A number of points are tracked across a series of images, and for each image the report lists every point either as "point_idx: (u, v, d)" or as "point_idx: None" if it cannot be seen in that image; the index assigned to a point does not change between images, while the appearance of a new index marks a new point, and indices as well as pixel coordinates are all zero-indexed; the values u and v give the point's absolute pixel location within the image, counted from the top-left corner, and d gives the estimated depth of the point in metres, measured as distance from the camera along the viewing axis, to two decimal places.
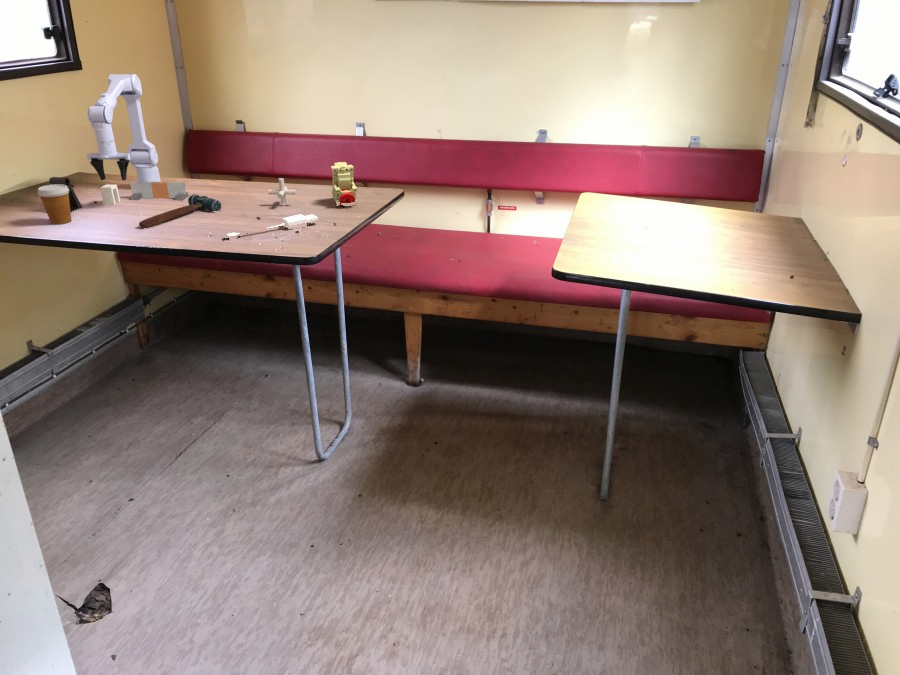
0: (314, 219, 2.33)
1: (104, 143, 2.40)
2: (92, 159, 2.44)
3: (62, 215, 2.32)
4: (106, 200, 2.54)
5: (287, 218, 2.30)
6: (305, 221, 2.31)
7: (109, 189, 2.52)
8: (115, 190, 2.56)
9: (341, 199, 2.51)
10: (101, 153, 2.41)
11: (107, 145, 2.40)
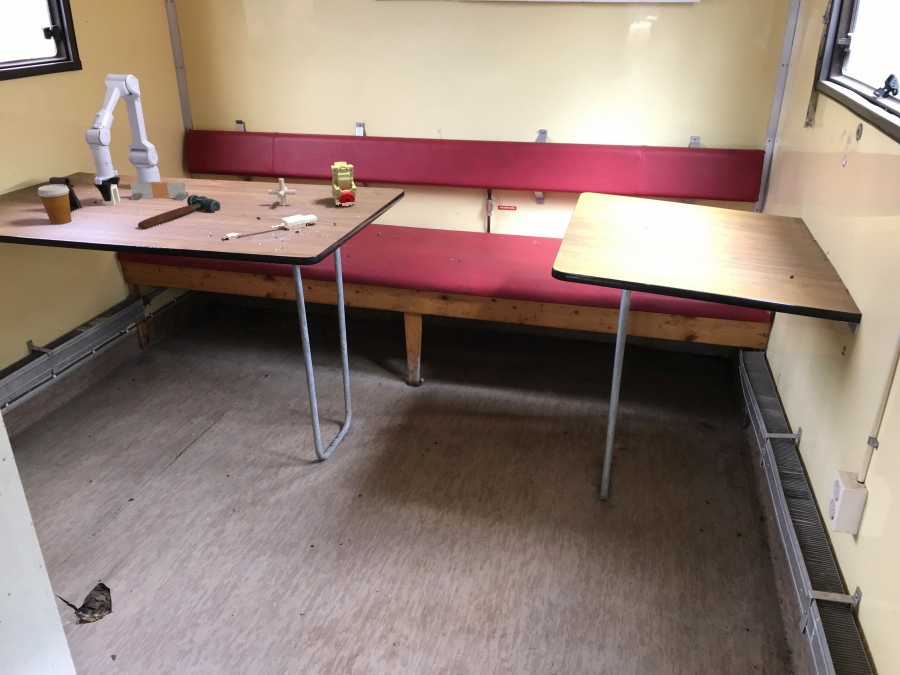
0: (314, 219, 2.33)
1: None
2: None
3: (62, 215, 2.32)
4: None
5: (287, 218, 2.30)
6: (305, 221, 2.31)
7: None
8: (115, 190, 2.56)
9: (341, 198, 2.51)
10: None
11: (95, 165, 2.49)
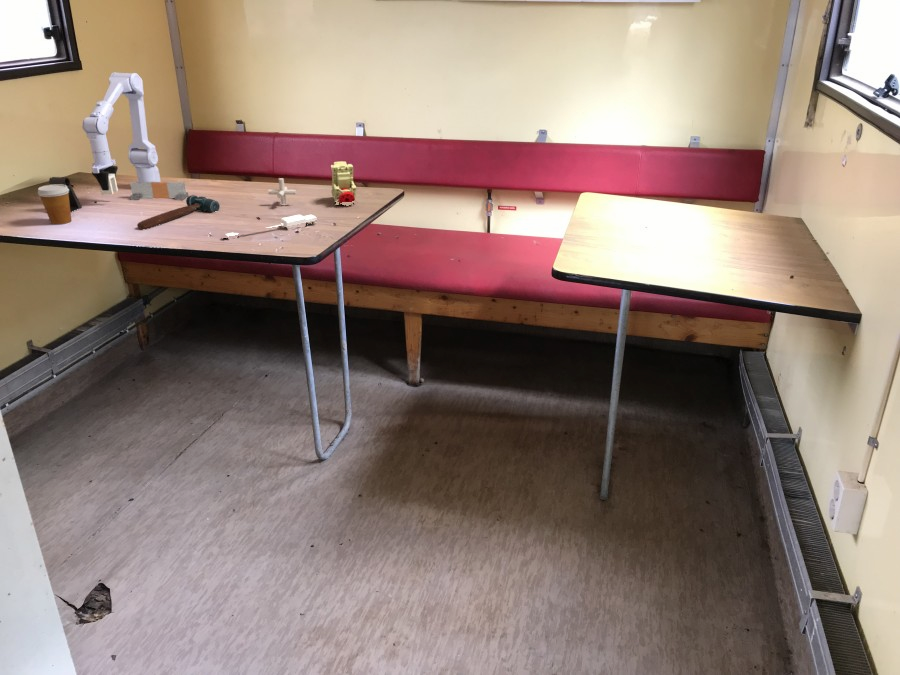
0: (313, 219, 2.33)
1: None
2: None
3: (62, 215, 2.32)
4: None
5: (286, 218, 2.30)
6: (304, 221, 2.31)
7: None
8: (113, 179, 2.54)
9: (341, 198, 2.52)
10: None
11: None
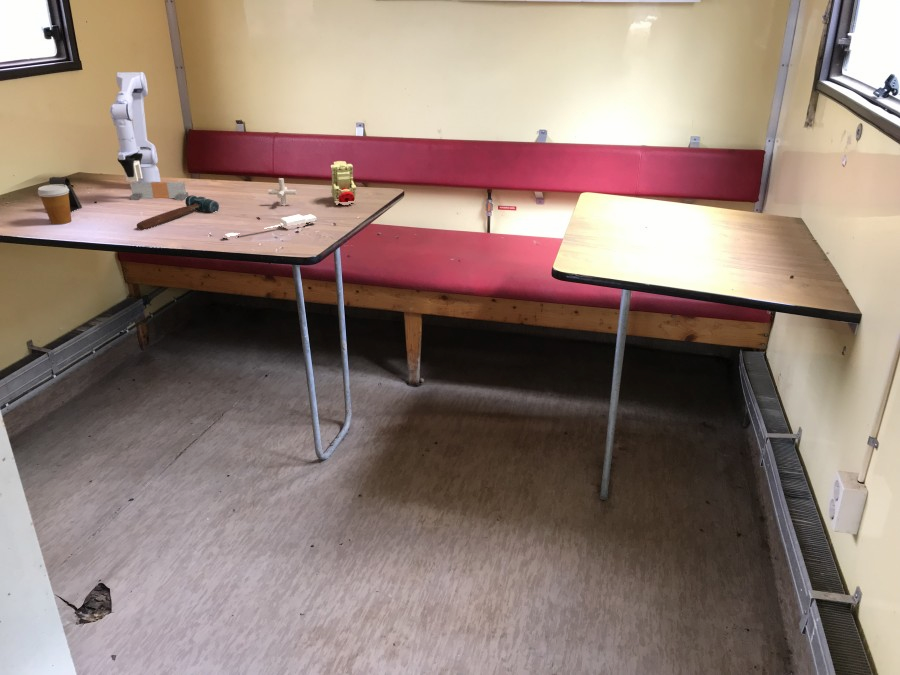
0: (313, 219, 2.33)
1: (118, 139, 2.50)
2: None
3: (62, 215, 2.32)
4: None
5: (286, 218, 2.30)
6: (304, 221, 2.31)
7: None
8: (137, 166, 2.56)
9: (340, 198, 2.52)
10: None
11: None
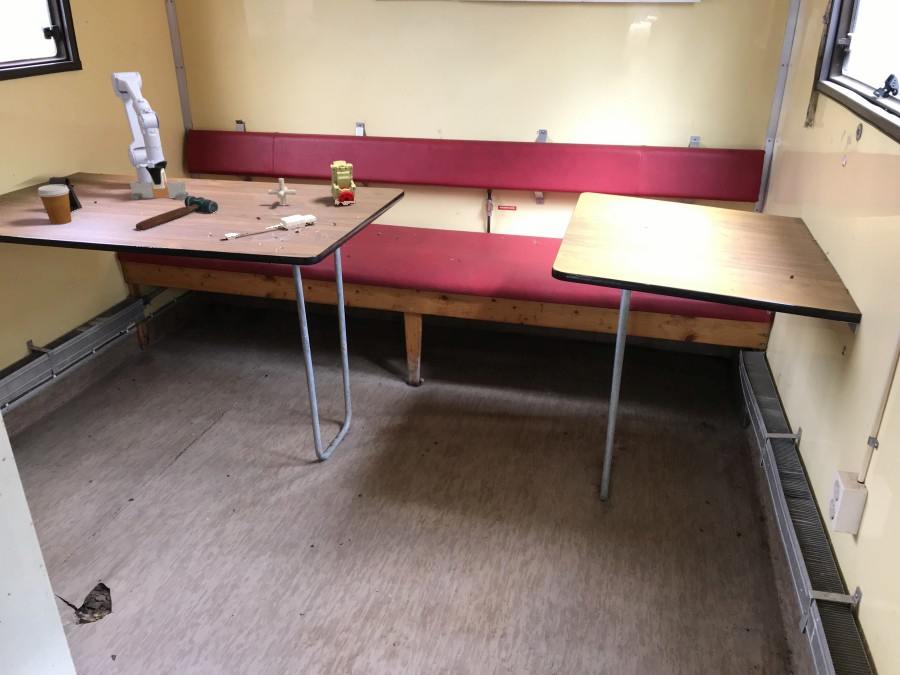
0: (312, 219, 2.33)
1: (145, 147, 2.55)
2: None
3: (62, 215, 2.32)
4: None
5: (285, 218, 2.30)
6: (303, 221, 2.30)
7: None
8: (163, 174, 2.62)
9: (340, 197, 2.53)
10: None
11: (145, 150, 2.54)
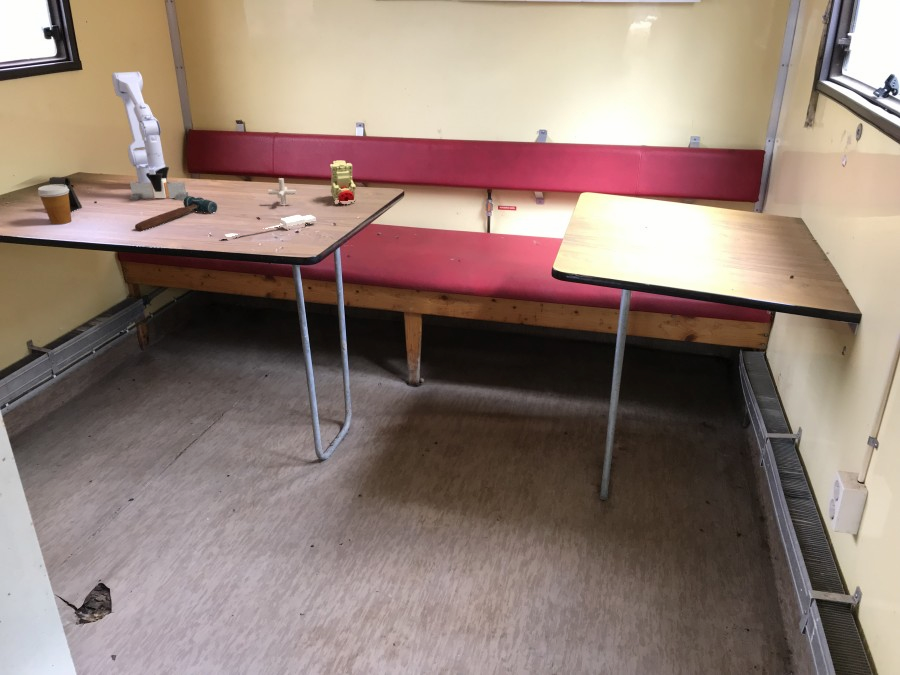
0: (312, 219, 2.32)
1: (146, 154, 2.56)
2: None
3: (62, 215, 2.32)
4: (157, 193, 2.61)
5: (285, 218, 2.30)
6: (303, 221, 2.30)
7: (161, 183, 2.59)
8: None
9: (340, 197, 2.53)
10: None
11: (147, 156, 2.55)
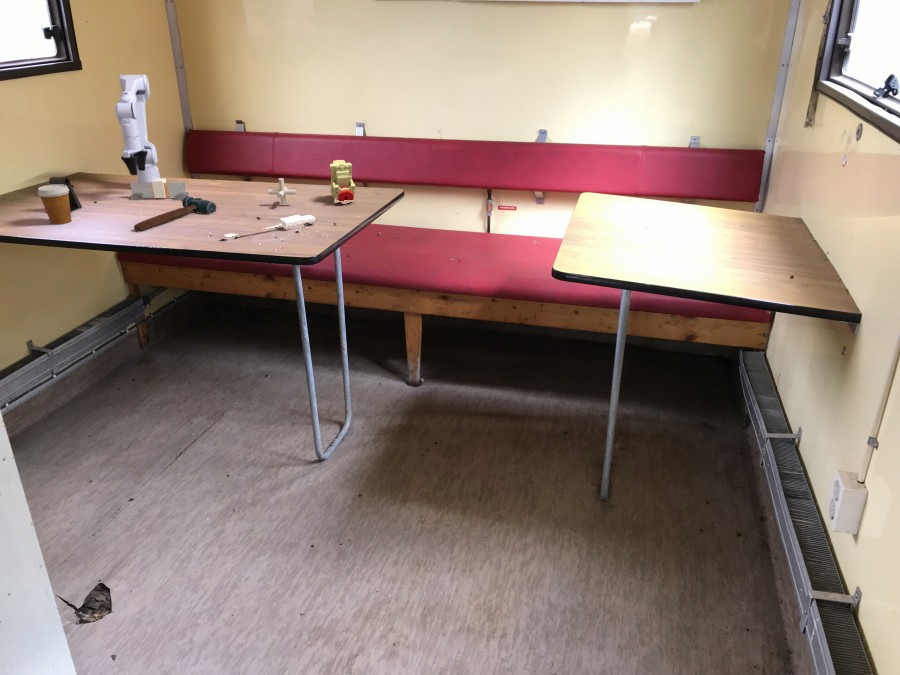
0: (312, 219, 2.32)
1: None
2: None
3: (62, 215, 2.32)
4: (157, 193, 2.61)
5: (284, 219, 2.29)
6: (303, 222, 2.30)
7: (161, 183, 2.59)
8: None
9: (340, 196, 2.54)
10: None
11: (123, 139, 2.54)
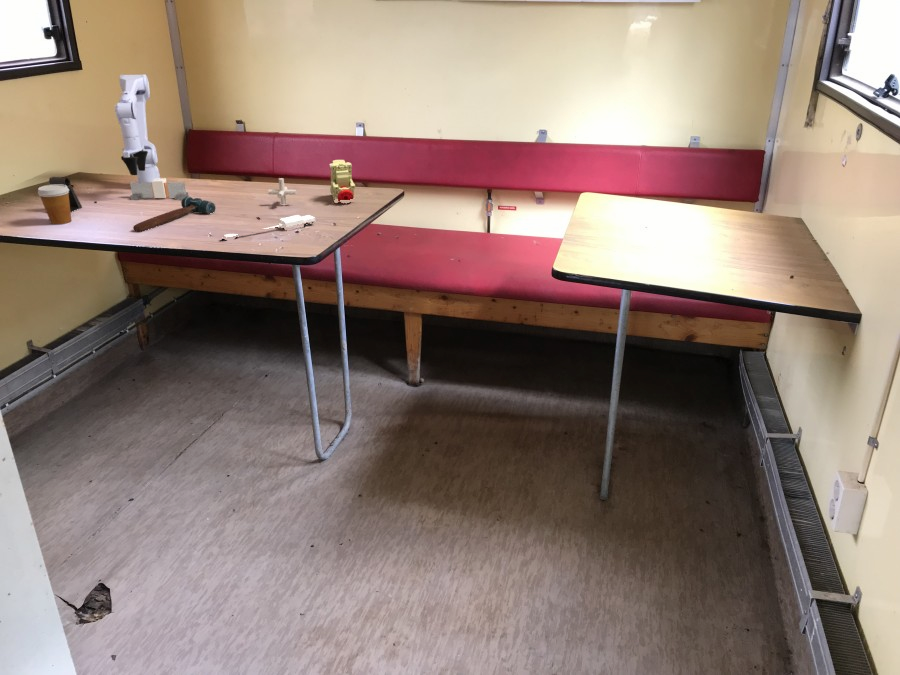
0: (311, 220, 2.32)
1: None
2: None
3: (62, 215, 2.32)
4: (157, 193, 2.61)
5: (284, 219, 2.29)
6: (302, 222, 2.30)
7: (161, 183, 2.59)
8: None
9: (340, 196, 2.54)
10: None
11: (123, 139, 2.54)
